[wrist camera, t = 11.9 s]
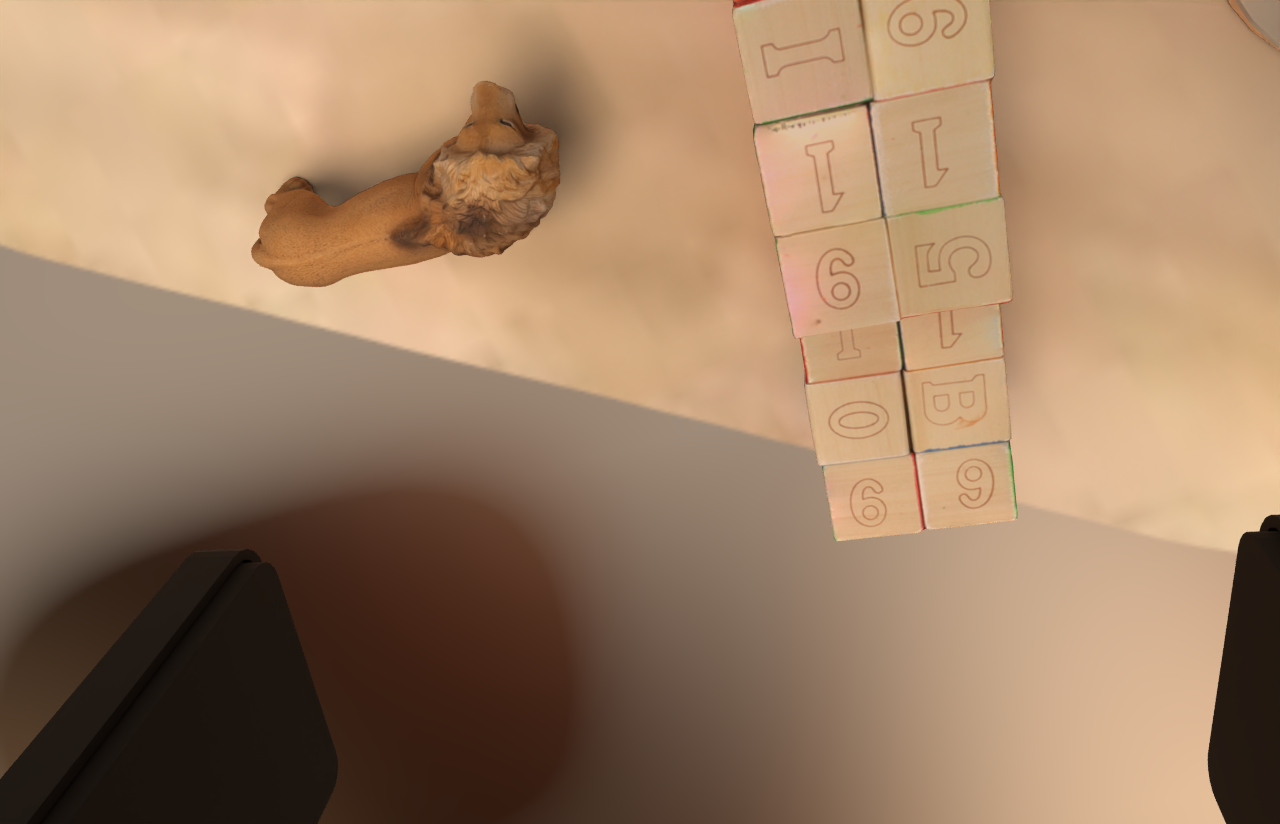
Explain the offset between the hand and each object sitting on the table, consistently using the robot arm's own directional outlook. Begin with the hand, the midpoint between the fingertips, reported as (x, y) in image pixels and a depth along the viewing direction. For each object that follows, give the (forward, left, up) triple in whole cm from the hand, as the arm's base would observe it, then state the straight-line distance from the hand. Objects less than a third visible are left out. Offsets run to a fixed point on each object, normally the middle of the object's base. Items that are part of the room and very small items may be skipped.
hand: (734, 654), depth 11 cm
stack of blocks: (-3, +4, -33) cm, 33 cm away
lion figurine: (+14, +3, -33) cm, 35 cm away
